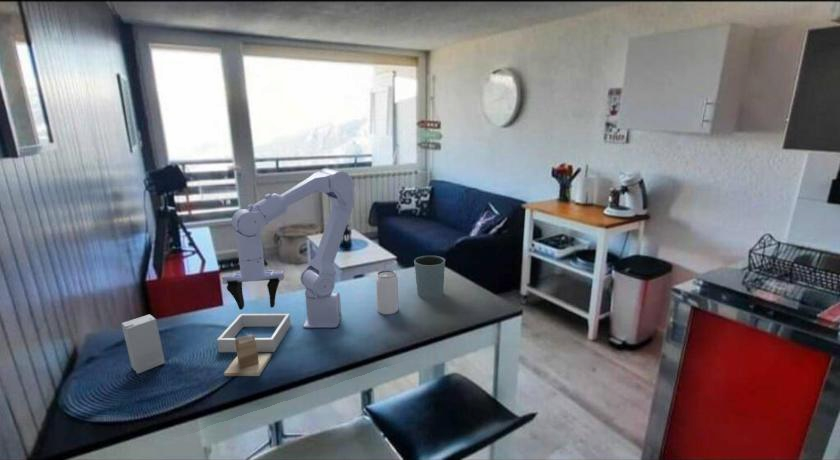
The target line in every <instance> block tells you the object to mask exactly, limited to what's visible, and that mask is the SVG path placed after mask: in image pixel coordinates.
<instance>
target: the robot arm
mask: <svg viewBox="0 0 840 460" xmlns="http://www.w3.org/2000/svg"><path fill="white" fill-rule="evenodd" d="M354 187H355V183H354V181H353V179H352V177H351V175H350V174H349V173H348V172H346V171H343V170H337V169H333V168H330V167H326V168H322V169H321V170H319V171H316V172H314V173H312V174H311V175H310V176H309V177H307V178H305V179H304V180H302V181H300V182H299V183H298V184H296V185H294V186H293V187H291V188H290V189H288V190H286V191H285V192H283V193H281V194H278V193H272V194H270V193H267V194H265V195H264V198H263V199H261V200H259V201H257V202H256V203H253V204H252V203H251V204H248V205H247V208H244V209H243V208H242V209H239V210H237V211H236V212H234V213H233V215H232V217H231V221H230V225H231V227H232V228H233V229H234V230H235V237H236V249H237V257H238V261H239V262H238V263H239V269H240V270H239V271H238V272H232V273H224V274H223V275H222V277H221V279H222V281H221V282H222V284H223V285H227V286H226V290H227V291H228V292H229V293H230V294H231V296H232V297H233V299H234V300H235V303H236V304H237V306H238V308H239V310H241V311H242V310H243V309H244V307H245V299H244V295H243V282H245V283H247V282H259V281H260V282H261V281H263V282H265V281H268V283H266V286H267V291H268V295H269V306H270V308H274V307H275V305H276V295H277V291H278V287H279V284H280V283H281V281H283V280H284V279H285V273H284V272H285V271H284V270H270V269H265V259H264V249H263V244H262V242H263V241H262V237H261V235H262V234H261V232H262V230H263V228H264V226H266V225H268V224H270V223H271V222H274V220H277V219H279V217H282V216H283V215H286V213H287V212H288V209H289V207H290V206H291V205H293V204H295V203H297V202H299V201H301V200H302V199H303V200H304V199H305V198H307V197H309V196H310V195H313V194H314V193H322V194H323V193H324V194H326V195H327V197H328V198H329V201H330V203H331V205H332V207H331V209H330V213H329V216H328V218H327V221H326V224H325V227H324V231H323V233H322V236H321V237H320V238H321V239H320V241H319V245H318V248H317V251H316V253H315V256H314V258H312V259H311V260H310V261H309V262H308V264H307V266H306V267H305V269H304V270H303V271H302V272H301V274H300V282H301V284H302V285H303V286H304V287H305V291H304V295H305V306H306V317H307V318H306V320H305V322H304V323H303V328H305V329H307V328H313V329H315V328H318V329H319V328H323V329H324V328H325V329H326V328H328V329H329V328H337V327H338V326H339V323H340V320H341V318H342V309H341V308H342V307H341V306H342V305H341V295H340V292H337V291H334V289H335V286H336V285H335V283H336V282H335V277H336V272H337V271H336V268H335V265H334V263H335V261H336V257H337V254H338V252H339V249H340V246H341V244H342V240H343V237H344V234H345V232H346V228H347V226H348V223H349V220H350V217H351V214H352V210H353V208H354V205H355V203H354V191H353V189H354Z"/></svg>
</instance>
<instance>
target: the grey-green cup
mask: <svg viewBox="0 0 840 460" xmlns="http://www.w3.org/2000/svg"><path fill="white" fill-rule="evenodd" d="M413 262H414V263H413V264H414V271H415V272H414V274H415V283H416V292H417V293H416V294H417V296H418V297H419V298H421V299H423V300H438V299H439V298H442V297H443V294H444V286H445V284H444V283H445V268H446V266H445V265H446V259H445V258H444V257H442V256H437V255H422V256H417V257H416V258H415V259H414V260H413Z"/></svg>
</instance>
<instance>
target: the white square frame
mask: <svg viewBox="0 0 840 460" xmlns="http://www.w3.org/2000/svg"><path fill="white" fill-rule="evenodd" d="M291 325H292V323H291V314H290V313H240V314H239V315H238V316H237V317H236V318H235V319H234V320H233V321H232V322H231V323H230V325H229V326H228V327H227V328H226V329H225V330H224V331H223V332H222V334H220V335H219V337H217V339H216V343H217V349H218V353H237V350H236V342H235V338H236V336H237V335H238V334H239V333H240V331H241V330H242V329H243V328H244V327H250V328H251V327H277V328H276V329H275V331H274V332H273V334H272V336H271V337H254V338H255V340H256V345H257V353H275V351H276V350H277V348H278V347H279V345H280V343H281V342H282V340H283V338H284V337H285V335H286V334H287V332H288V330H289V329H290V327H291Z"/></svg>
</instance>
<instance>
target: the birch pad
mask: <svg viewBox="0 0 840 460" xmlns="http://www.w3.org/2000/svg"><path fill="white" fill-rule="evenodd" d="M271 357H272V353H258V361H259V364H256V365H253V366H249V367H246V368H243V369H241V368H240V365H239V362H238V357H237V356H236V357H235V358H234V359H233V360H232V362H230V364H229V366H227V368H226V370H225V371H224V372H223V375H224V377H259V376H260V375H261V374H262V373H263V371H264V369H265V367H266V366H267V365H268V362H269V361H270V359H271Z"/></svg>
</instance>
